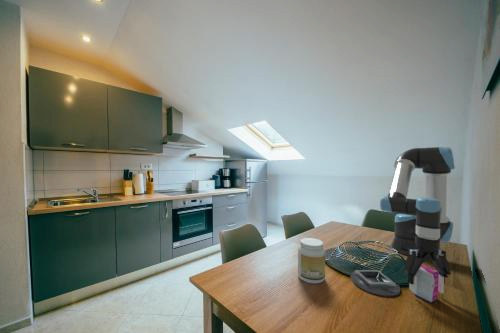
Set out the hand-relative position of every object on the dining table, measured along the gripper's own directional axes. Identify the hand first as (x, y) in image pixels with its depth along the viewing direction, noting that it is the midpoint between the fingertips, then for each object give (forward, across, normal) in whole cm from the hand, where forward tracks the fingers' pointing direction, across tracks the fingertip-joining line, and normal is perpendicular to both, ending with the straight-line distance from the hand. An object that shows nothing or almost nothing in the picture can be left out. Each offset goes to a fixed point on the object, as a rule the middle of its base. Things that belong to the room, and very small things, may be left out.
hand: (426, 291), depth 83 cm
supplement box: (+3, 0, 0) cm, 3 cm away
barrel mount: (+2, +15, -10) cm, 18 cm away
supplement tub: (+3, +42, -15) cm, 45 cm away
